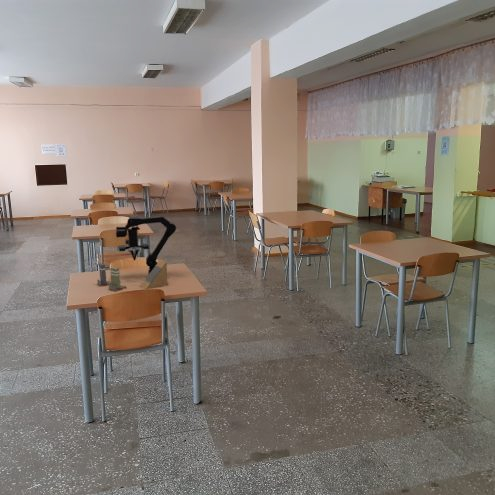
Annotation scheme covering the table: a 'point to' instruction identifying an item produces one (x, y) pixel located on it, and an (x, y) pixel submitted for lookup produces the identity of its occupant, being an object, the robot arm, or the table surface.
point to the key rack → (110, 285)
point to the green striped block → (115, 277)
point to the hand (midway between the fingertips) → (134, 260)
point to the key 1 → (102, 273)
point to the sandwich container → (156, 276)
